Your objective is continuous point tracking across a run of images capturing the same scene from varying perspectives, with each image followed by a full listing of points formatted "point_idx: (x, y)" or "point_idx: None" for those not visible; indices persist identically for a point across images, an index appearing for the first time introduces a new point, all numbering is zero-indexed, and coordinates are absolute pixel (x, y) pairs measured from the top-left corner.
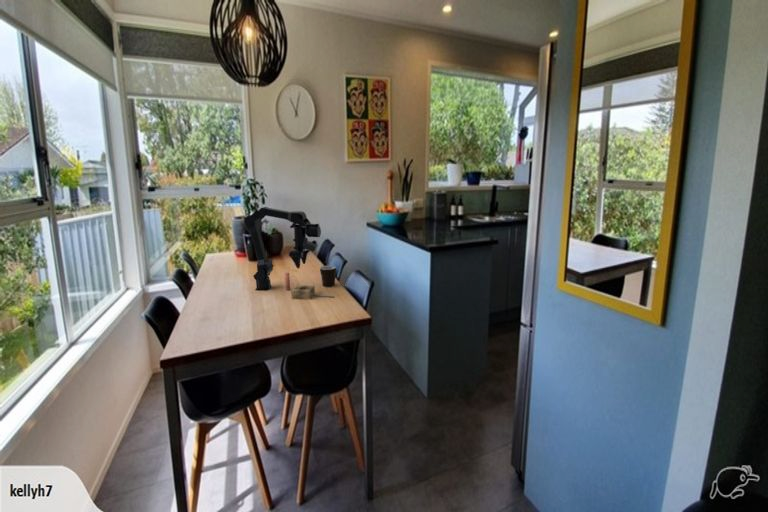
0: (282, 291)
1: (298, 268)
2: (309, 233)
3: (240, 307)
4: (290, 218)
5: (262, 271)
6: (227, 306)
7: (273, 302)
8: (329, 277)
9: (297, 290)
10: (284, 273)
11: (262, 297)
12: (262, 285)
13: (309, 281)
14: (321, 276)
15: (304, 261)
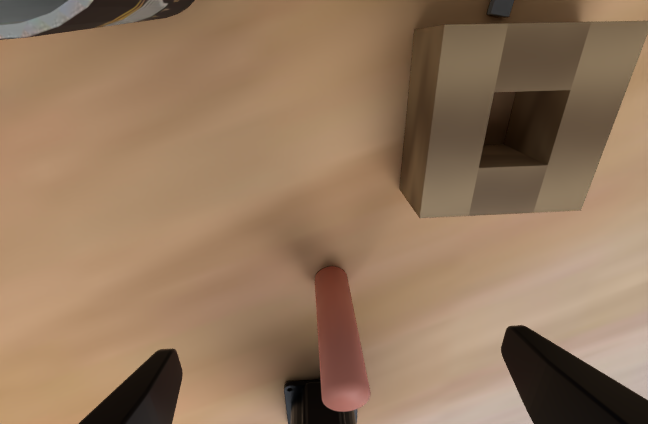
0: (370, 296)
1: (517, 333)
2: None
3: (605, 373)
4: None
5: None
6: None
7: (576, 267)
8: None
9: (577, 163)
10: (355, 408)
11: (474, 349)
12: (354, 421)
13: (93, 201)
14: (153, 5)
15: (158, 397)
